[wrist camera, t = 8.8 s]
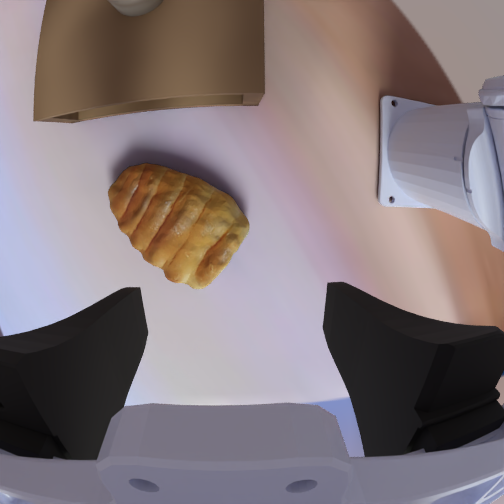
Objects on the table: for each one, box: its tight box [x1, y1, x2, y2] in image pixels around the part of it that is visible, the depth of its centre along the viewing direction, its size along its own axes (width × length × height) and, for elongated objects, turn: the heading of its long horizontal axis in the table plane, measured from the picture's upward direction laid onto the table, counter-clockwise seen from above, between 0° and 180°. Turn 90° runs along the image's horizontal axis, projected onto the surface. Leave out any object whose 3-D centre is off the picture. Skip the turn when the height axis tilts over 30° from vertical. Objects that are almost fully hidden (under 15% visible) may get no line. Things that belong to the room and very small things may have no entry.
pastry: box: [108, 163, 249, 289], centre depth 19 cm, size 9×7×4 cm
